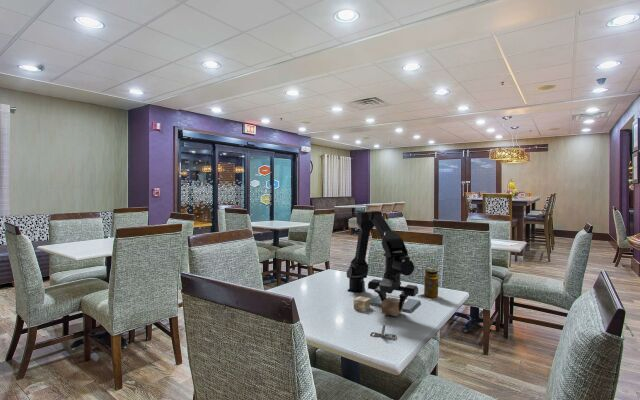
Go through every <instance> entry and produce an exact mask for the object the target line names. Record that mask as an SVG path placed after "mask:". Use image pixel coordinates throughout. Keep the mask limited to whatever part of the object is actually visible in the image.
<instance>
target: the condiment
mask: <svg viewBox="0 0 640 400" xmlns="http://www.w3.org/2000/svg"><path fill="white" fill-rule="evenodd" d="M438 274H439V273H438V270H436V269H426V270H425V275H424V282H423V285H424V286H423V288H424V289H423V293H422V294H416V296H417V297H420V298H422V299H424V300H428V301H432V300H437V299H440V298H442V296H440V295H439V277H438Z"/></svg>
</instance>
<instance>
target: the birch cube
mask: <svg viewBox="0 0 640 400" xmlns="http://www.w3.org/2000/svg"><path fill="white" fill-rule="evenodd" d="M370 300H371V298H370V297H365V296H357V297H355V298H353V309H355V310H357V311H361V312H366V311H367V310H369V309H370V308H371V305H370Z"/></svg>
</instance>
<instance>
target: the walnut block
mask: <svg viewBox="0 0 640 400" xmlns="http://www.w3.org/2000/svg"><path fill="white" fill-rule="evenodd" d="M399 303H400V299H397V298H392V297H387V298H386V299H385V300H383V301H382V307H381V314H384V315H390V316H393V317H394V316H395V317H397V316H399V315H400V314H401V313H402V312H404V311H403V307H402V309H401V311H399Z"/></svg>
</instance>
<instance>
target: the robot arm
mask: <svg viewBox="0 0 640 400" xmlns="http://www.w3.org/2000/svg"><path fill="white" fill-rule="evenodd" d="M356 225H357V227H358V235H357V243H356V249H355V256H354V257H353V259H352V260H351V261H350V263H349V264H350V265H349V267H348V269H347V271H346V274H345V275H346V278H348V279H349V280H348V281H349V285H348V287H349V288H348V289H347V292H353V293H359V294H360V293H362V292H364V291H366V288H365V287H366V281H365V279H367V278H368V273H369V264H368V263H367V260H366V258H367V252H368V246H369V238H370V233H371V231H372V230H373V228H375V229H376V231H377V233H378V234H379V236H380V238H381V242H380V243H381V246H382V249H383V250H384V253H383V257H385V271H384V274H383V278H381V279H377V278H373V279H371V280H370V281H368V283H367V289H369V290H373V291H374V292H375V293H377V294H378V295H379V296H380V299H381V302H382V301H383V300H385V299H386V294H388V295H391V294H392V293H393V292H394V291H396V292H397V291H399V292H401V293H400V294H399V295H398V297H400V303H399V311H401V309H402V307H403V304H404V302H405V300H406V298H409V297H415V296H417V295H419V287H418V286H417V285H412V284H407V285H404V286H402V281H401V275H403V276H406V277H408V276H410V275H412V274H413V273H414V270H415V265H414V262H413V261H412V260H410V256H409V253H408V249H407V246H406V245H405V242H404V240H403V238H402V237H401V236H400V235H399V234H398V233H397V232H394V231H393V230H392V229H391V227H390V225H389V224H388V222H387V221H386V220H385V218H384V216H383V213H382V211H380V210H370V211H359V212H358V213H357V215H356Z"/></svg>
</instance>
